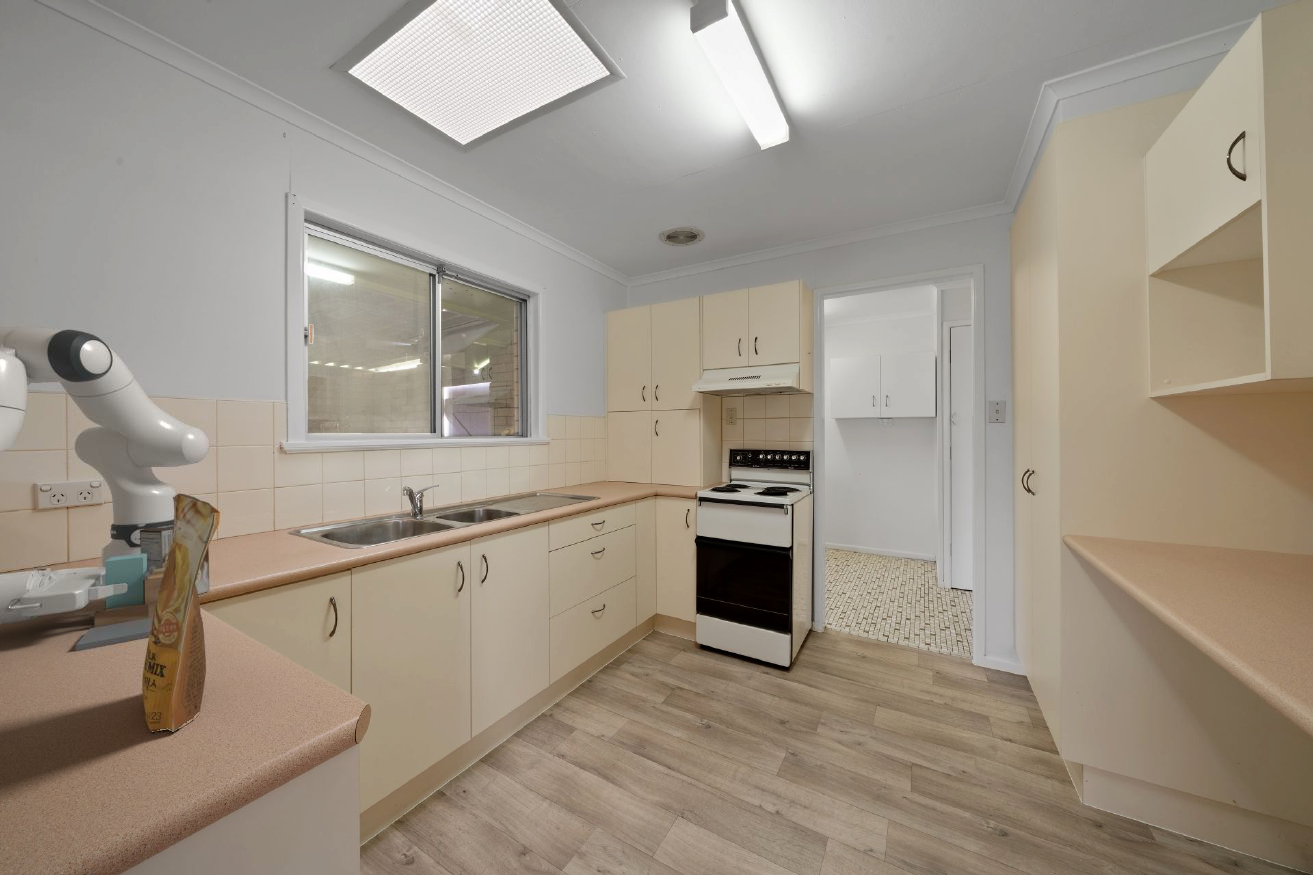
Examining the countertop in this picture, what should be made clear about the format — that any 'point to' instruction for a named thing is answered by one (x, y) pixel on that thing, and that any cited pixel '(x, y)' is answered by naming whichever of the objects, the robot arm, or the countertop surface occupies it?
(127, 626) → the pad
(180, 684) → the pancake mix bag
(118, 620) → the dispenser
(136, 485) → the robot arm
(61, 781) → the countertop surface
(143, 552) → the coffee box
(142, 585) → the tall teal pillar
